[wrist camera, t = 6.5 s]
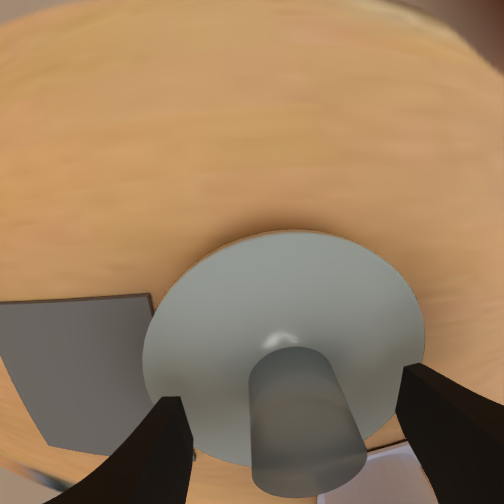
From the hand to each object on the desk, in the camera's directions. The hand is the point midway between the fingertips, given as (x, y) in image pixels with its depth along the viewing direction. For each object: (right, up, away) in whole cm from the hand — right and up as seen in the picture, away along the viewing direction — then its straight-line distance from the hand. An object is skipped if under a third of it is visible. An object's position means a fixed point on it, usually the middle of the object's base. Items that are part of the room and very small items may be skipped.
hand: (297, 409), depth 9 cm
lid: (0, +1, +2) cm, 2 cm away
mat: (-11, -3, +6) cm, 13 cm away
